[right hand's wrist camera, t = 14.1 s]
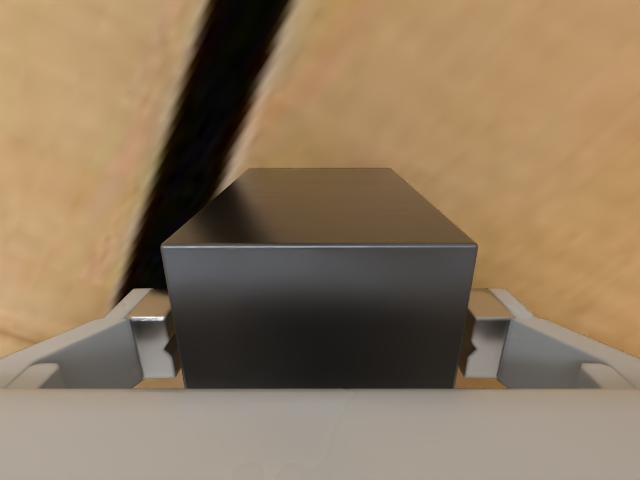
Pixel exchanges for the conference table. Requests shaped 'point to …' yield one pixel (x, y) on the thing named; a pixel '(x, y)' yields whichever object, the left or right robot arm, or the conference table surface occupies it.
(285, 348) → the bar
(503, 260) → the conference table surface
